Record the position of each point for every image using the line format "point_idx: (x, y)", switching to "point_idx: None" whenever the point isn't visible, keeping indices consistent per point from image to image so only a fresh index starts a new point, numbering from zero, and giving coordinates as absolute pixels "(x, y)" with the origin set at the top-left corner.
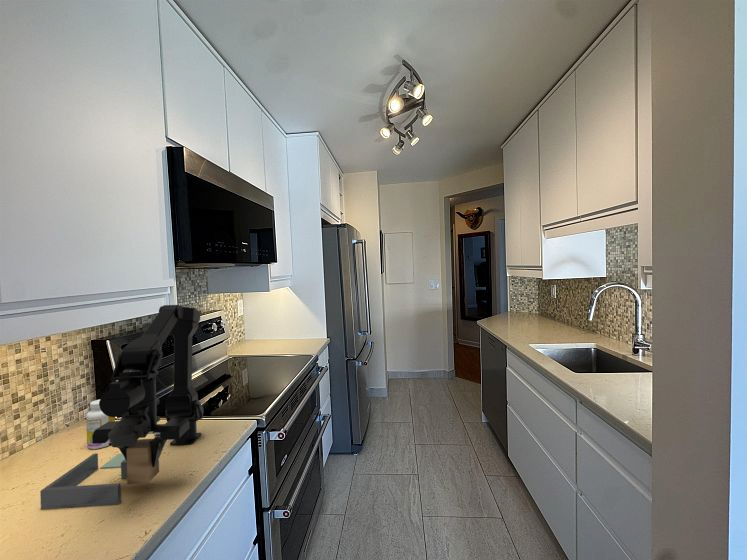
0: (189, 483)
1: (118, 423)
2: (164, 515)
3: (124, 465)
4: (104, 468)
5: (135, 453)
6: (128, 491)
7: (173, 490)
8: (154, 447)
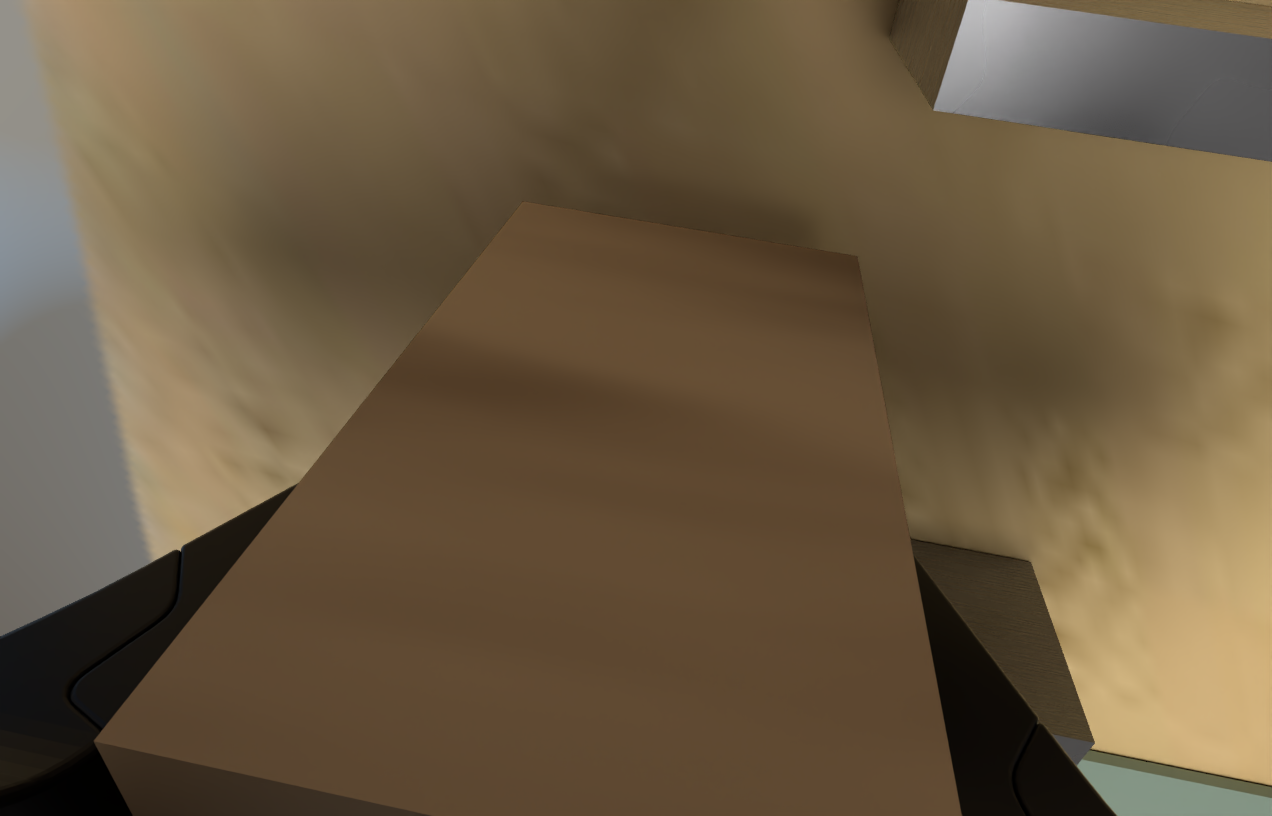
0: (169, 250)
1: None
2: None
3: (1031, 693)
4: (1258, 785)
5: (628, 654)
6: (863, 282)
7: (273, 142)
8: (18, 716)
